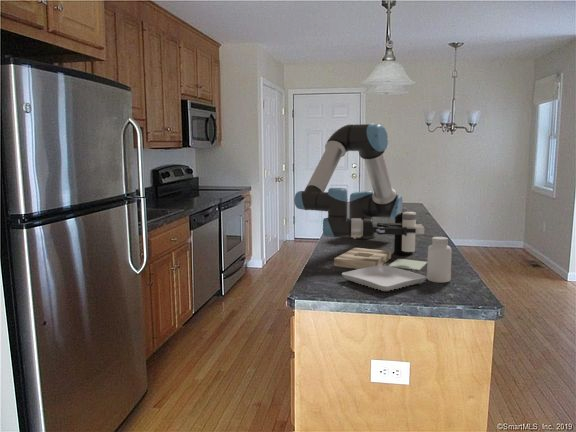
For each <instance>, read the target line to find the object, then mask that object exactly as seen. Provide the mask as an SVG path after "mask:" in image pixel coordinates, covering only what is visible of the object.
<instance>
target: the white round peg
mask: <svg viewBox="0 0 576 432" xmlns="http://www.w3.org/2000/svg"><path fill="white" fill-rule="evenodd" d="M402 219H403V221H402V227H416V224H417V223H416V222H417V212H415V211H407V212H403V214H402ZM402 251H404V252H412V253H413V252H415V251H416V234H407V236H405V235H402Z"/></svg>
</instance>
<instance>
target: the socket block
mask: <svg viewBox="0 0 576 432" xmlns="http://www.w3.org/2000/svg"><path fill="white" fill-rule="evenodd" d="M389 259H390V260H391V259H392V251H389V250H381V249H380V250H379V249H371V248H362V247H353V248H351V249H349V250H348V251H346V252H343V253H342V254H340V255H338V256H336V257H334V260H333V261H334V263H333V265H334V267H341V268H348V269H355V270H357V269H362V268H367V267H372V266H377V265H385V264H386V263H387V262H388V261H390V260H389Z"/></svg>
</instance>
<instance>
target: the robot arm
mask: <svg viewBox="0 0 576 432" xmlns="http://www.w3.org/2000/svg"><path fill="white" fill-rule="evenodd" d="M388 137H389V135H388V133H387V130H386V128H385V127H384V125H382V124H379V123H378V124H377V123H368V124H346V125H344V126H342V127H340V128H338V129H337V130H336V131H334V133H332V134H331V136H330V137H329V138H328V140H327V141H326V143H325V146H324V151H323V154H322V156H321V158H320V160H319V162H318V163H317V166H316V167H315V170H314V172H313V173H312V175H311V177H310V179H309V181H308V183H307V185H306V187H305V189H304V190H300V191H296V193H295V195H294V200H293V202H294V205H295V207H296V208H297V209H299V210H304V211H317V212H327V217H325V218H323V219H322V235H323V236H324V237H327V238H328V237H329V238H350V239H354V240H368V239H370V240H371V239H374V238H375V237H376V234H377V235H381V236H383V235H391V236H392V235H394V236H395V235H405V236H407V234H415V235H425V226H423V224H417V223H416V227H402V223H395V222H394V223H390V222H377V223H374V222H373V218H379V219H388V220H389V219H390V220H391V219H394V220H395V217H396V215H398V214H400V213H402V208H403V196H402V195H400V194H397V192H396V190H395V188H393V187H392V184H391V180H390V177H389V172H388V168H387V165H386V160H385V156H384V153H385V151H386V149H387V148H388V145H389V144H388V143H389V140H388ZM347 152H358V154H359V157H360V158H361V159H362V160H364V162H365V166H366V169H367V173H368V176H369V177H368V178H369V180H370V183H371V188H372V190H364V191H357V192H355V191H354V192H352V193H350V194H349V198H348V191H347V189H346V188H345V187H330V188H328V190H327V192H326V189H327V187H328V185H329V183H330V181H331V179H332V176H333V174H334V172H335V170H336V169H337V167H338V164H339V162H340V160H341V158H343V157H345V155H346V153H347ZM348 202H349V205H348ZM348 206H349V211H348ZM348 212H349V215H348ZM348 217H349V218H348Z"/></svg>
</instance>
